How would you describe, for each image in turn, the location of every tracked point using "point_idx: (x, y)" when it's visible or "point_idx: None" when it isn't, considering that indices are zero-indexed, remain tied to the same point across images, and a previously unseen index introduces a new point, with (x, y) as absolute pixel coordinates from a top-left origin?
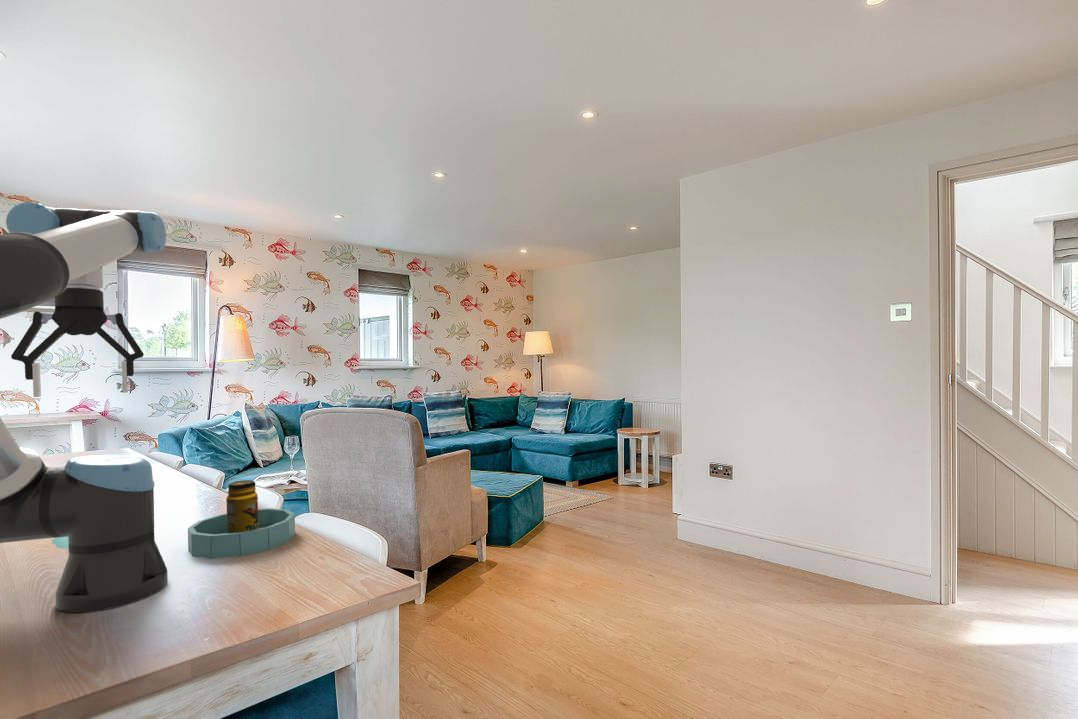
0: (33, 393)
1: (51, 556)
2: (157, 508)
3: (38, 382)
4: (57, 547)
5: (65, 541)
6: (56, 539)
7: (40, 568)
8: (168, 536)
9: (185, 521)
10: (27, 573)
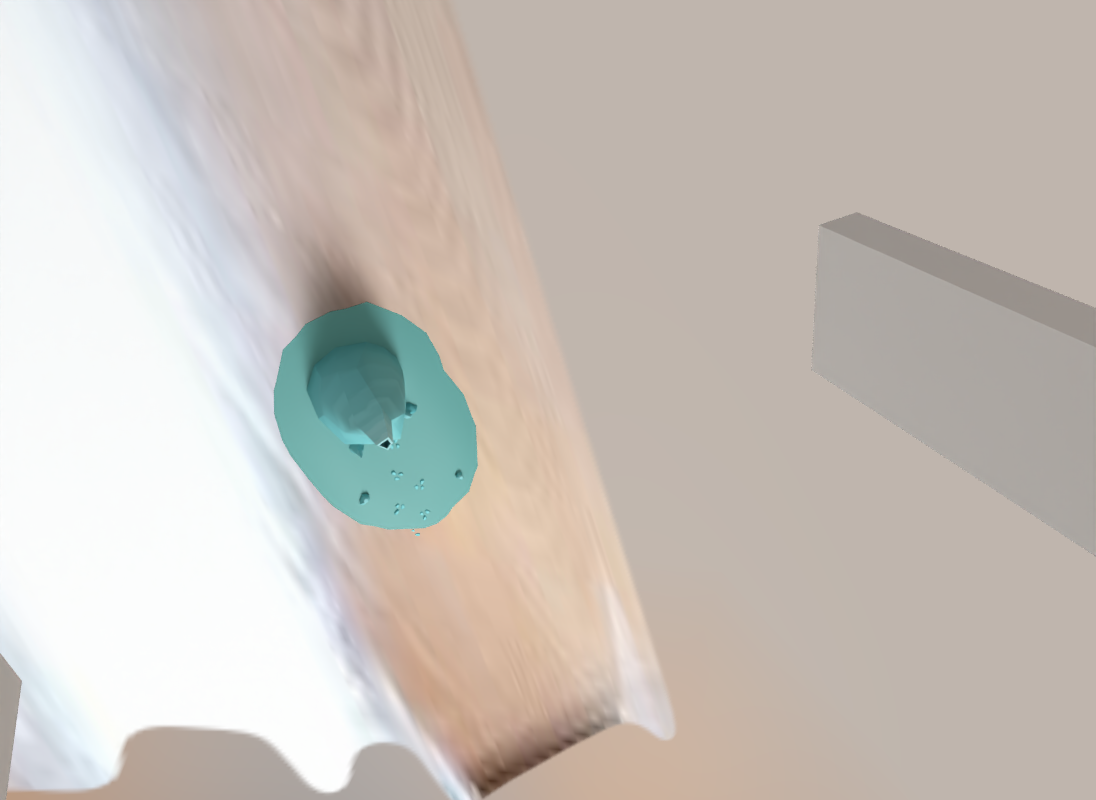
0: (889, 225)
1: (404, 224)
2: (260, 724)
3: (958, 303)
4: (426, 334)
5: (422, 386)
6: (462, 425)
7: (383, 72)
8: (5, 329)
9: (38, 540)
10: (405, 24)
